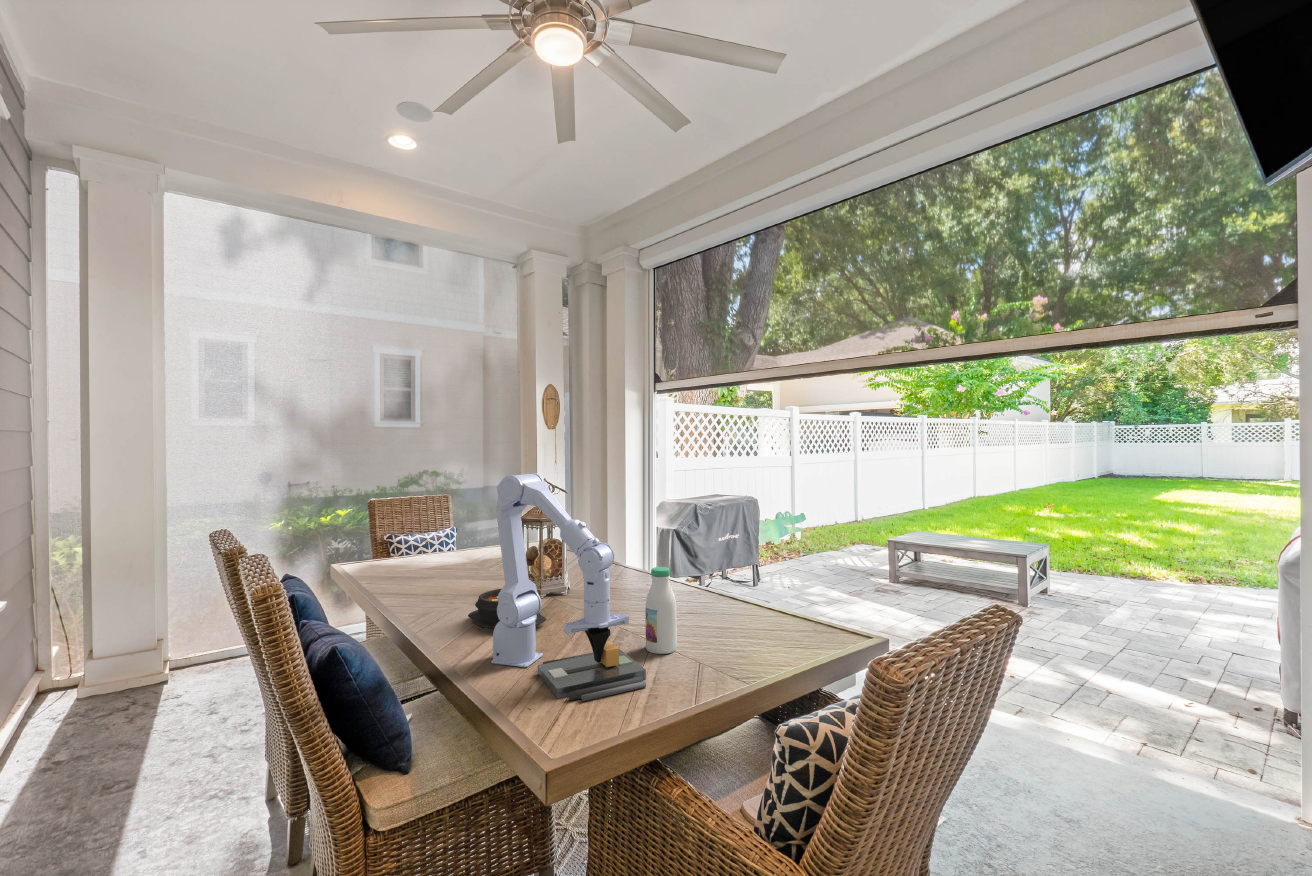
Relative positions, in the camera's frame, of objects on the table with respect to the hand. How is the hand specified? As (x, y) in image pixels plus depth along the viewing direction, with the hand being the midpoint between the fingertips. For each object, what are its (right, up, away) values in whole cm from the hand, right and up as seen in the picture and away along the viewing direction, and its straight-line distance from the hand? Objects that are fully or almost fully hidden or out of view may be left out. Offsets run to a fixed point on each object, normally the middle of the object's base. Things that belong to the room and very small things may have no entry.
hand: (597, 661), depth 132 cm
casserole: (-29, -3, +37) cm, 47 cm away
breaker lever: (+2, -1, +1) cm, 3 cm away
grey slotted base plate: (-1, -3, -1) cm, 3 cm away
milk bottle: (+14, -3, +15) cm, 21 cm away
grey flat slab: (-1, -3, -1) cm, 3 cm away
